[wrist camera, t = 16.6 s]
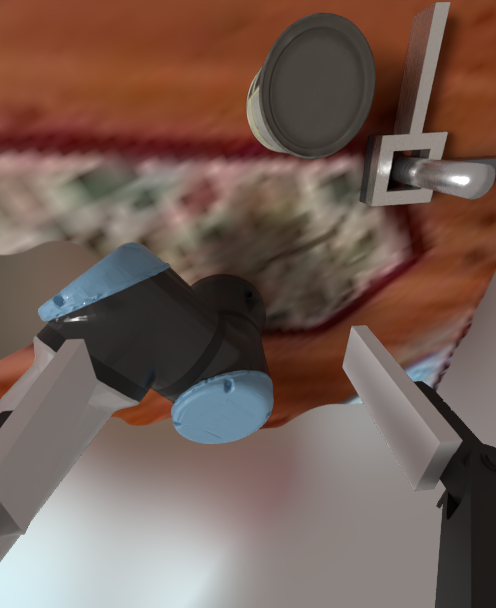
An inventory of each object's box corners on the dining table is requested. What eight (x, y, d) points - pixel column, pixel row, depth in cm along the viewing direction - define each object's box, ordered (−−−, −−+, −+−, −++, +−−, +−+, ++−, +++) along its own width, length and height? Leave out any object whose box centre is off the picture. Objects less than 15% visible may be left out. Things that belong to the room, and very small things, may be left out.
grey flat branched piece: (487, 191, 45) (509, 196, 42) (359, 201, 44) (371, 206, 41) (549, 11, 35) (585, -3, 31) (384, 17, 34) (403, 3, 30)
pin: (401, 179, 43) (488, 198, 29) (380, 180, 43) (458, 200, 29) (405, 155, 41) (500, 163, 28) (384, 156, 41) (468, 165, 27)
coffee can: (252, 47, 34) (272, -4, 22) (334, 66, 36) (395, 28, 23) (240, 146, 39) (250, 149, 27) (312, 158, 40) (353, 167, 28)
